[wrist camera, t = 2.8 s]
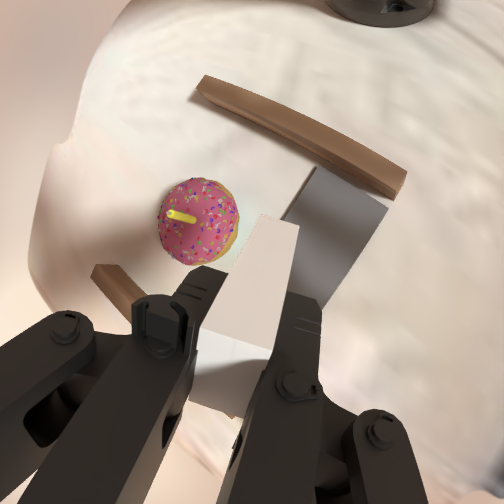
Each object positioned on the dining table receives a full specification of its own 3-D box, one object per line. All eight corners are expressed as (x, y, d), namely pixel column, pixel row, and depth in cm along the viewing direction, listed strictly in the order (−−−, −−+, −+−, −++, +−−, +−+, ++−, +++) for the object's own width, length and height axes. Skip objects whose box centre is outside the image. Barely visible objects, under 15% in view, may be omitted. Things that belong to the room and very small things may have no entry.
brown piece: (220, 90, 36) (205, 74, 32) (403, 183, 28) (407, 171, 24) (112, 277, 40) (90, 277, 36) (247, 405, 32) (232, 419, 28)
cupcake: (262, 194, 33) (205, 157, 22) (245, 274, 33) (179, 276, 22) (193, 185, 36) (122, 154, 25) (178, 257, 36) (100, 251, 25)
